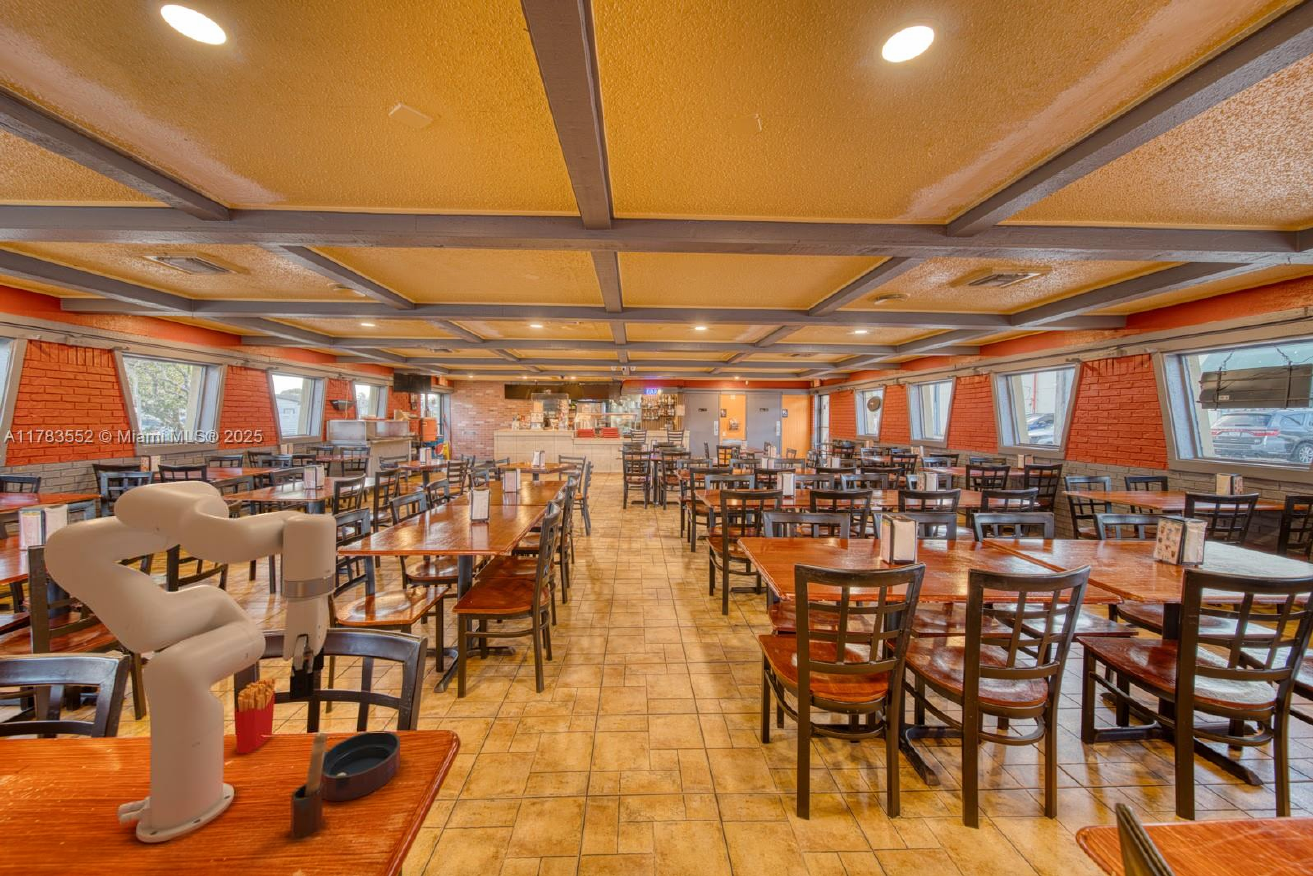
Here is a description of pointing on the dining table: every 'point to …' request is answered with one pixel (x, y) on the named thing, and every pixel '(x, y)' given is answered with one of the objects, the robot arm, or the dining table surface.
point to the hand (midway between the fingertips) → (307, 683)
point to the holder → (306, 812)
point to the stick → (316, 764)
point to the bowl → (360, 765)
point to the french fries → (254, 715)
